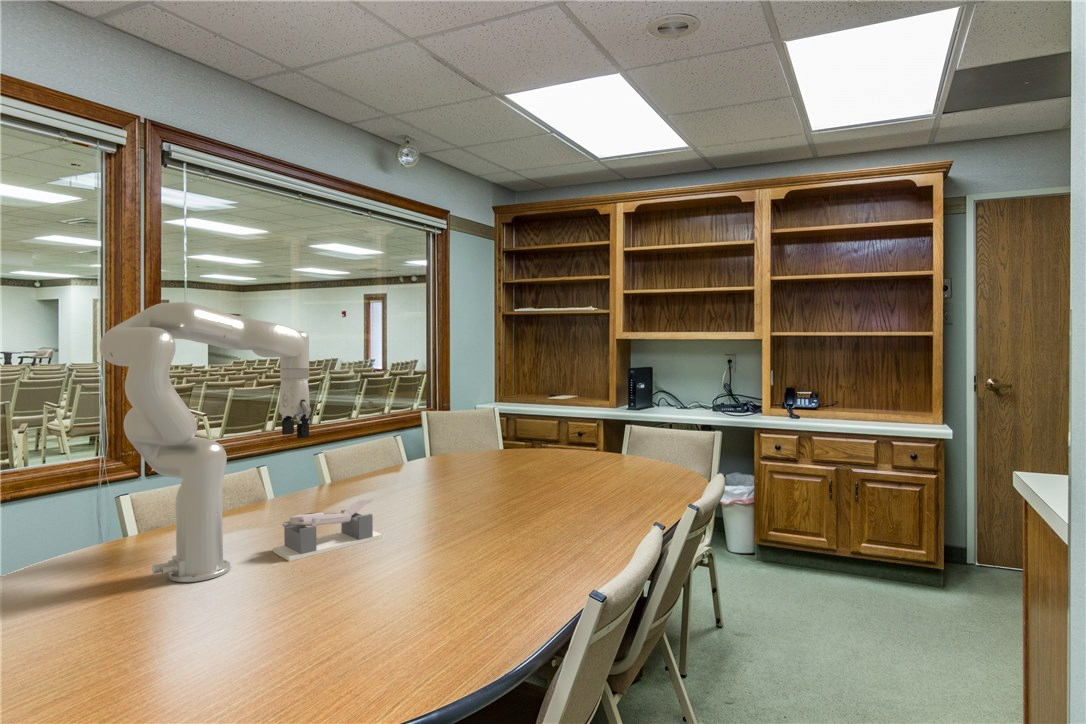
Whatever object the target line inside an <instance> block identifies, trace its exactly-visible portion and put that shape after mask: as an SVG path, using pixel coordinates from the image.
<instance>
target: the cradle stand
mask: <svg viewBox="0 0 1086 724" xmlns="http://www.w3.org/2000/svg"><path fill="white" fill-rule="evenodd" d="M345 510H346V509H342V510H341V511H340V513H341V512H344V511H345ZM284 523H290V520H286V521H284ZM284 523H283V524H284ZM340 525H341V526H340V527H341V529H340V530H341V532H338V533H337V532H336V533H333V534H329V535H328V534H327V535H324V536H319V537H317V525H315V526H283V527H284V528H283V529H284V530H283V531H284V545H280V546H277V547H273V548H272V553H275V555H278V556H280V557H281V558H283V559H285V560H287V561H288V562H293V561H296V560H299V559H304V558H307V557H311V556H312V557H313V556H315V555H320V554H323V553H324V554H325V553H327V552H331V551H336V550H339V549H344V548H348V547H351V546H356V545H361V544H363V543H368V542H372V541H375V540H376V541H377V540H381V539H383V534H382V533H379V532H377V531H375V530H373V528H374V527H373V514H372V513H367V514H361V513H358V512H356V513H355V514H353V515H352V516H351V521H350V522H346V523H340Z"/></svg>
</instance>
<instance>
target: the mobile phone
mask: <svg viewBox="0 0 1086 724" xmlns="http://www.w3.org/2000/svg"><path fill="white" fill-rule="evenodd" d="M372 501H374V499H373V498H370V499H369V498H367V499H366V498H365V499H359V500H357V501H355V502H354V503H353V504H352V505H350V506H349V507H347V508H346V509H344V510H345V511H344V512H341V511H340V512H338V513H337V512H334V513H324V512H307V513H301V514H297V515H293V516H291V517H289V521H290V523H282V527H284V526H306V527H311V526H322V525H324V526H325V525H333V524H341V523H346V522H350V521H351V516H352V515H353V514H355V513H358V512H359V511H360V510H361V509H363V508H364V507H366V506H367V505H368V504H369V503H371V502H372Z"/></svg>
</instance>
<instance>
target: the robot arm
mask: <svg viewBox="0 0 1086 724" xmlns="http://www.w3.org/2000/svg"><path fill="white" fill-rule="evenodd" d="M309 336H310V335H309V333H308V332H307V331H300V330H297V329H295V328H291V327H288V326H285V325H282V324H279V323H275V322H269V321H264V320H259V319H254V318H250V317H245V316H240V315H239V316H238V315H235V314H232V313H228V312H225V311H221V310H217V309H214V308H211V307H207V306H204V305H201V304H198V303H193V302H187V301H186V302H185V301H184V302H183V301H181V302H180V301H179V302H177V301H176V302H162V303H157V304H154V305H152V306H150V307H148V308H145V309H144V310H142V311H139V312H138V313H137V314H135V315H133V316H131V317H129V318H127V319H126V320H123V322H121V323H118V324H117V325H114V326H113V327H111V328H110V329H108V330H107V331H106V332H105V333H104V334H103V336H102V337H101V339H100V342H99V352H100V354H101V357H103V358H104V360H106V362H108V363H110V364H111V365H114V366H119V367H128V369H127V374H126V377H125V383H124V392H125V396H126V399H127V400H128V402H129V404H130V405H131V408H130V409H129V410H128V411H127V413H126V414H125V416H124V420H123V430H124V434H125V436H126V438H127V440H128V441H129V442H130V444H131V445H132V446H133V448H134V449H135V450H136V451H137V453H139V454H140V456H141V457H142V458H143V460H144V461H145V462H146V463H147V464H148V465H149V467H150V468H151V469H152V470H153V471H154V472H155V473H157V474H159V475H161V476H163V477H168V478H177V479H182V480H181V484H180V486H179V488H178V490H177V492H176V497H175V542H176V543H175V546H176V547H175V549H176V550H175V551H176V553H175V555H172V557H171V558H172V559H170V560H168V561H167V562H163V563H157V564H154V565H152V566H151V571H152V574H153V575H155V574H159V573H160V574H161V575H164V574H168V579H169V580H170V581H172V582H176V583H196V582H203V581H207V580H212V579H215V578H217V577H220V576H222V575H224V574H226V573H228V571H230V569H231V562H230V561H228V560H225V559H224V545H223V544H224V541H223V538H224V537H223V536H224V535H223V534H224V533H223V532H224V530H223V526H224V525H223V523H224V522H223V487H224V486H223V484H224V477H225V471H226V467H227V460H228V455H227V452H226V450H225V447H224V446H223V445H222V444H221V443H219V442H217V441H215V440H213V439H209V438H202V437H201V438H199V437H196V434H197V433H198V423H197V420H196V418H195V416H194V414H193V413H192V412H191V410H190V409H189V407H188V406H187V405H186V403H185V401H184V400H183V399H182V398H181V396H180V394H178V392H177V391H176V389H175V388H174V385H173V384H172V382H171V377H170V370H171V366H172V362H173V360H174V357H175V355H176V348H177V347H176V340H186V341H187V340H188V341H192V342H195V343H201V344H206V345H209V346H210V345H211V346H214V347H218V348H222V349H227V350H228V349H229V350H236V351H238V350H239V351H252V352H253V353H254V354H255V355H257V356H259V357H260V358H261V357H262V358H280V359H279V360H280V362H279V363H280V364H279V367H280V372H279V373H280V374H279V375H280V385H279V400H278V401H279V403H278V412H279V414H280V415H281V434H282V435H283V436H284V435H294V434H295V419H294V417H295V418H296V420H297V423H296V438H297V439H305V438H309V437H310V422H311V421H310V418H311V412H312V409H311V406H310V389H309V381H310V337H309Z"/></svg>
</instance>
